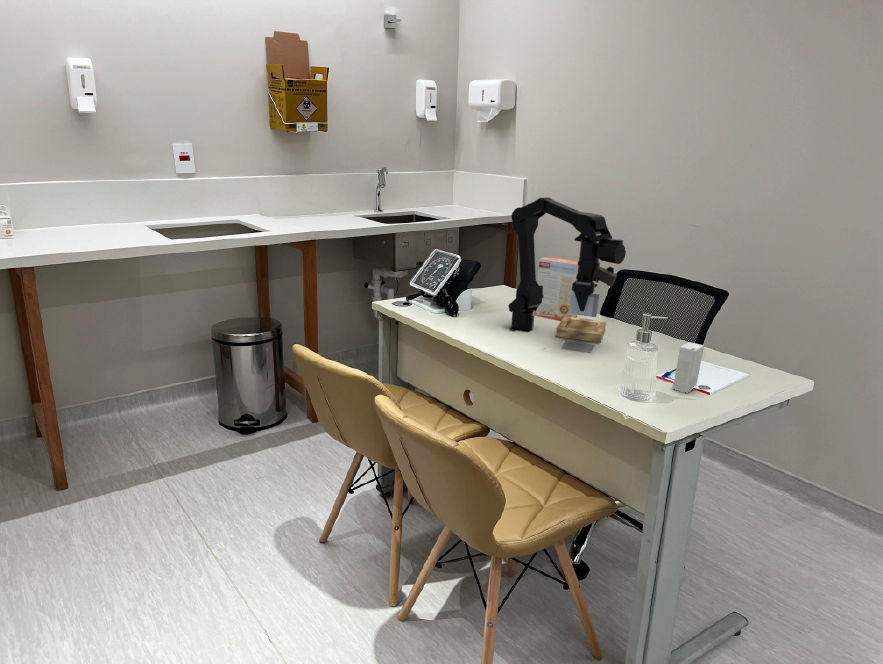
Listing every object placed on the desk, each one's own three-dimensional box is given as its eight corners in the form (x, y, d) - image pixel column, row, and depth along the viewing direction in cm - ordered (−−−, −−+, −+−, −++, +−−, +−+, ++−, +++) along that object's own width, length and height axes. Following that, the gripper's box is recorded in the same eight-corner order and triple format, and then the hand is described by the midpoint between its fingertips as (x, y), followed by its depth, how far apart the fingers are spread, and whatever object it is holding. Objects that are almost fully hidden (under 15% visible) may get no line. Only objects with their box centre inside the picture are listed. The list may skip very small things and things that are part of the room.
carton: (554, 338, 218) (556, 327, 217) (563, 325, 233) (564, 315, 232) (599, 345, 214) (601, 334, 213) (605, 331, 229) (606, 320, 228)
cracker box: (577, 320, 241) (584, 261, 234) (570, 324, 236) (577, 264, 229) (540, 313, 248) (546, 255, 241) (533, 316, 243) (539, 257, 237)
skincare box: (680, 384, 185) (687, 341, 182) (697, 388, 183) (704, 345, 179) (671, 389, 181) (678, 345, 177) (688, 394, 178) (695, 350, 175)
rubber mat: (560, 349, 208) (560, 348, 208) (565, 341, 216) (565, 340, 216) (590, 354, 205) (591, 353, 205) (594, 346, 214) (594, 344, 213)
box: (568, 313, 207) (570, 294, 205) (570, 310, 211) (572, 291, 209) (595, 317, 205) (598, 297, 203) (597, 313, 209) (599, 294, 207)
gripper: (614, 266, 192) (607, 320, 197) (619, 255, 210) (612, 305, 214) (574, 262, 195) (568, 315, 200) (582, 252, 213) (576, 301, 217)
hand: (583, 309), depth 208 cm, fingers closed on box, 4 cm apart
